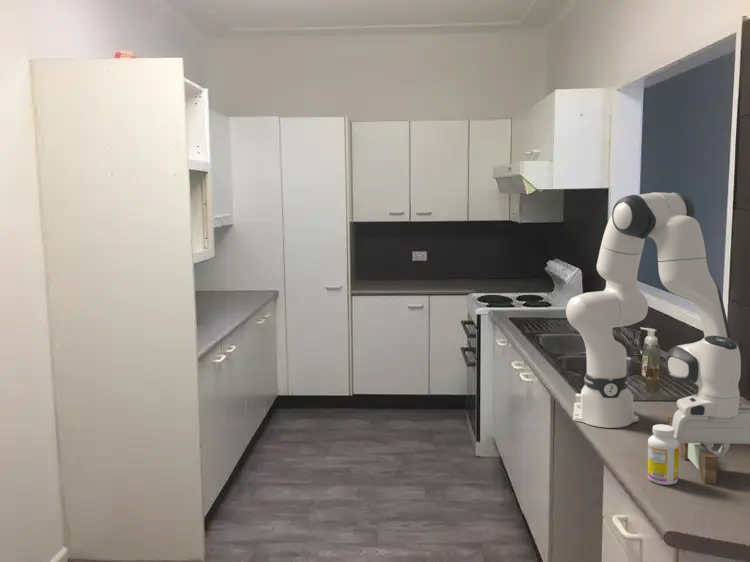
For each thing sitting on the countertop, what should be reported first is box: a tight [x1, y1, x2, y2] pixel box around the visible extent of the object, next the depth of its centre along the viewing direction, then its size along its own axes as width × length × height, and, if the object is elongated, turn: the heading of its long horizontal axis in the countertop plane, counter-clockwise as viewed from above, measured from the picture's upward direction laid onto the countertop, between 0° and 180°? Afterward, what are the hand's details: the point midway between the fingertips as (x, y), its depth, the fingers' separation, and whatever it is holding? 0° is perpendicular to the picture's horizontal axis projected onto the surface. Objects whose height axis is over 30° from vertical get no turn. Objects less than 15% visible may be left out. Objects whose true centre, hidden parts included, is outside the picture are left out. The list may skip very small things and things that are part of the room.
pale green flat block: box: [688, 443, 709, 474], centre depth 161 cm, size 9×2×6 cm, turn 173°
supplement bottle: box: [647, 423, 680, 486], centre depth 156 cm, size 7×7×13 cm
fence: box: [667, 416, 718, 485], centre depth 167 cm, size 28×2×6 cm, turn 173°
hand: (716, 459), depth 161 cm, fingers closed
